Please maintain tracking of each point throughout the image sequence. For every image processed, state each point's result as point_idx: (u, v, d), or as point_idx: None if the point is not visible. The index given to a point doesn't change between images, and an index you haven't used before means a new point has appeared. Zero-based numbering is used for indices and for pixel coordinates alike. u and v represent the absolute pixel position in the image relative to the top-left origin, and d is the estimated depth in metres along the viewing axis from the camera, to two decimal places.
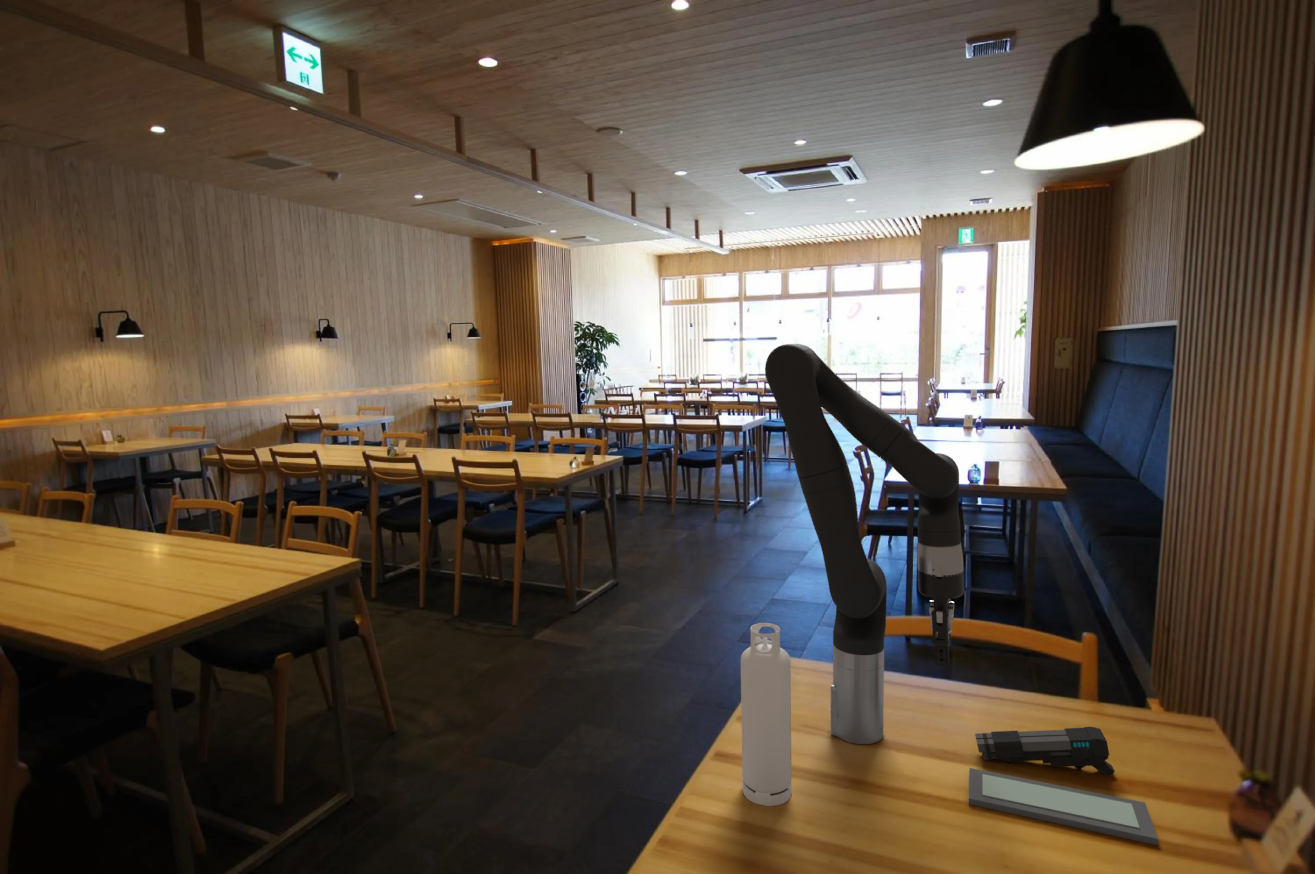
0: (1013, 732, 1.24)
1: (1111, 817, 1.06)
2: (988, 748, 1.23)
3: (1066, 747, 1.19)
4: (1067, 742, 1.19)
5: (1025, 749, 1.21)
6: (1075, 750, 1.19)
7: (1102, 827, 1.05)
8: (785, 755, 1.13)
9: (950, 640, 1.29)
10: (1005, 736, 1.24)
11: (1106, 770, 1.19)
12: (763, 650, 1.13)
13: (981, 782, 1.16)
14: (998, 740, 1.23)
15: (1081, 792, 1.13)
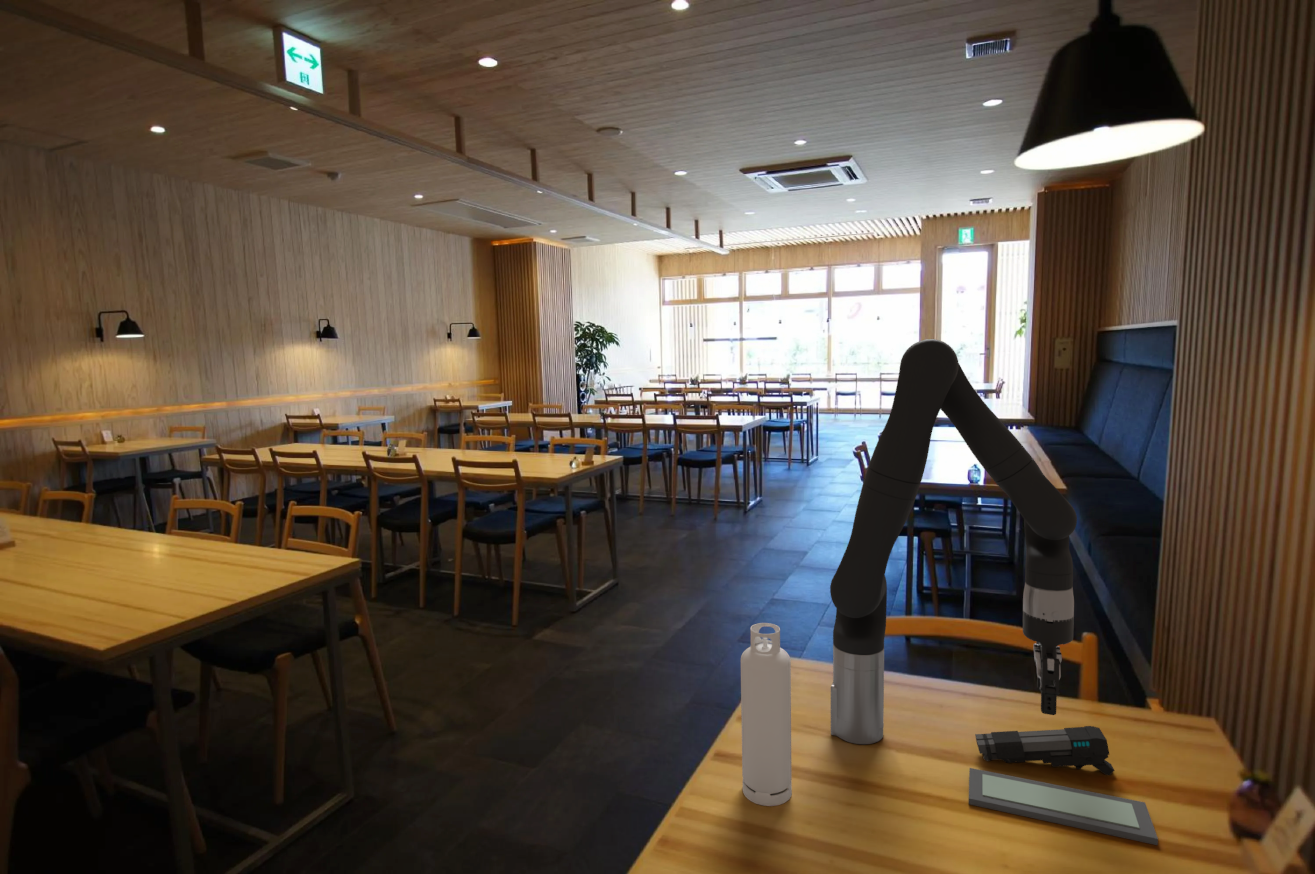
0: (1013, 732, 1.24)
1: (1111, 817, 1.06)
2: (989, 749, 1.23)
3: (1066, 747, 1.19)
4: (1067, 742, 1.19)
5: (1026, 749, 1.21)
6: (1075, 750, 1.19)
7: (1102, 827, 1.05)
8: (785, 755, 1.13)
9: (1051, 685, 1.24)
10: (1005, 736, 1.24)
11: (1106, 769, 1.19)
12: (763, 650, 1.13)
13: (981, 782, 1.16)
14: (998, 741, 1.23)
15: (1081, 792, 1.13)
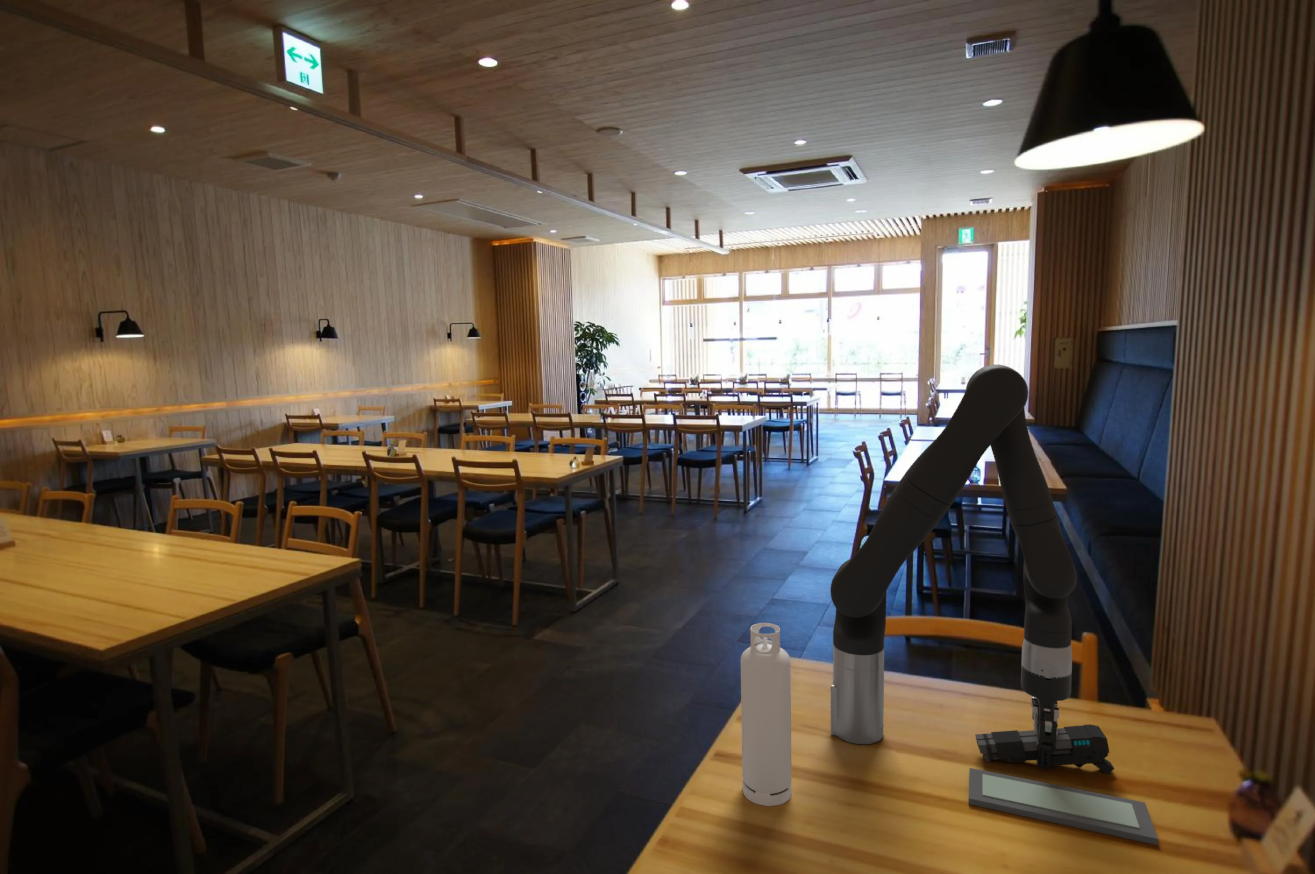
0: (1013, 732, 1.24)
1: (1111, 817, 1.06)
2: (990, 749, 1.22)
3: (1067, 746, 1.19)
4: (1068, 741, 1.19)
5: (1026, 749, 1.21)
6: (1076, 748, 1.19)
7: (1102, 827, 1.05)
8: (785, 755, 1.13)
9: None
10: (1006, 736, 1.23)
11: (1106, 767, 1.19)
12: (763, 650, 1.13)
13: (981, 782, 1.16)
14: (999, 741, 1.23)
15: (1081, 792, 1.13)
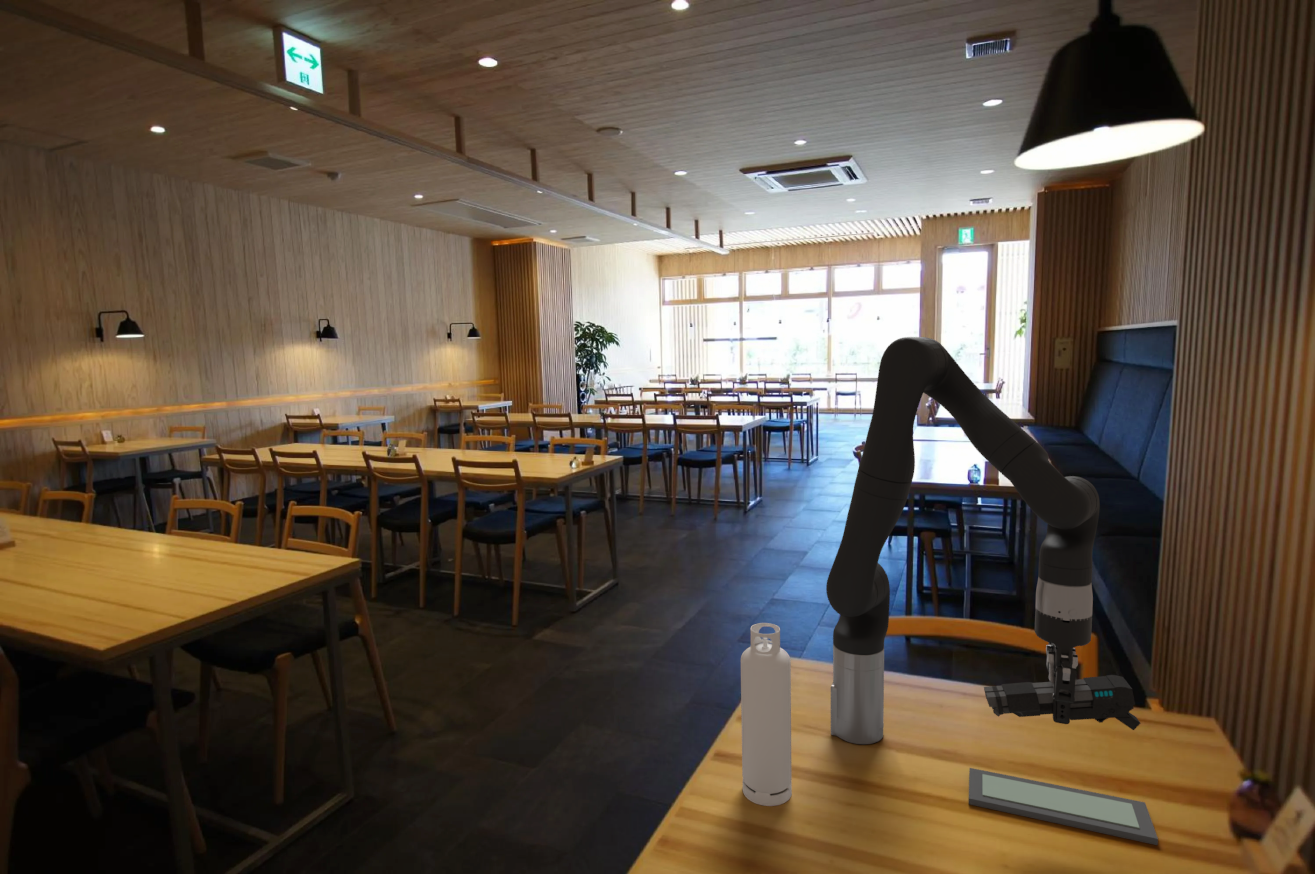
0: (1026, 684, 1.12)
1: (1111, 817, 1.06)
2: (1000, 701, 1.10)
3: (1087, 697, 1.07)
4: (1088, 692, 1.06)
5: (1041, 701, 1.08)
6: (1097, 700, 1.06)
7: (1102, 827, 1.05)
8: (785, 755, 1.13)
9: None
10: (1018, 688, 1.11)
11: (1131, 722, 1.06)
12: (763, 650, 1.13)
13: (981, 782, 1.16)
14: (1010, 692, 1.10)
15: (1081, 792, 1.13)
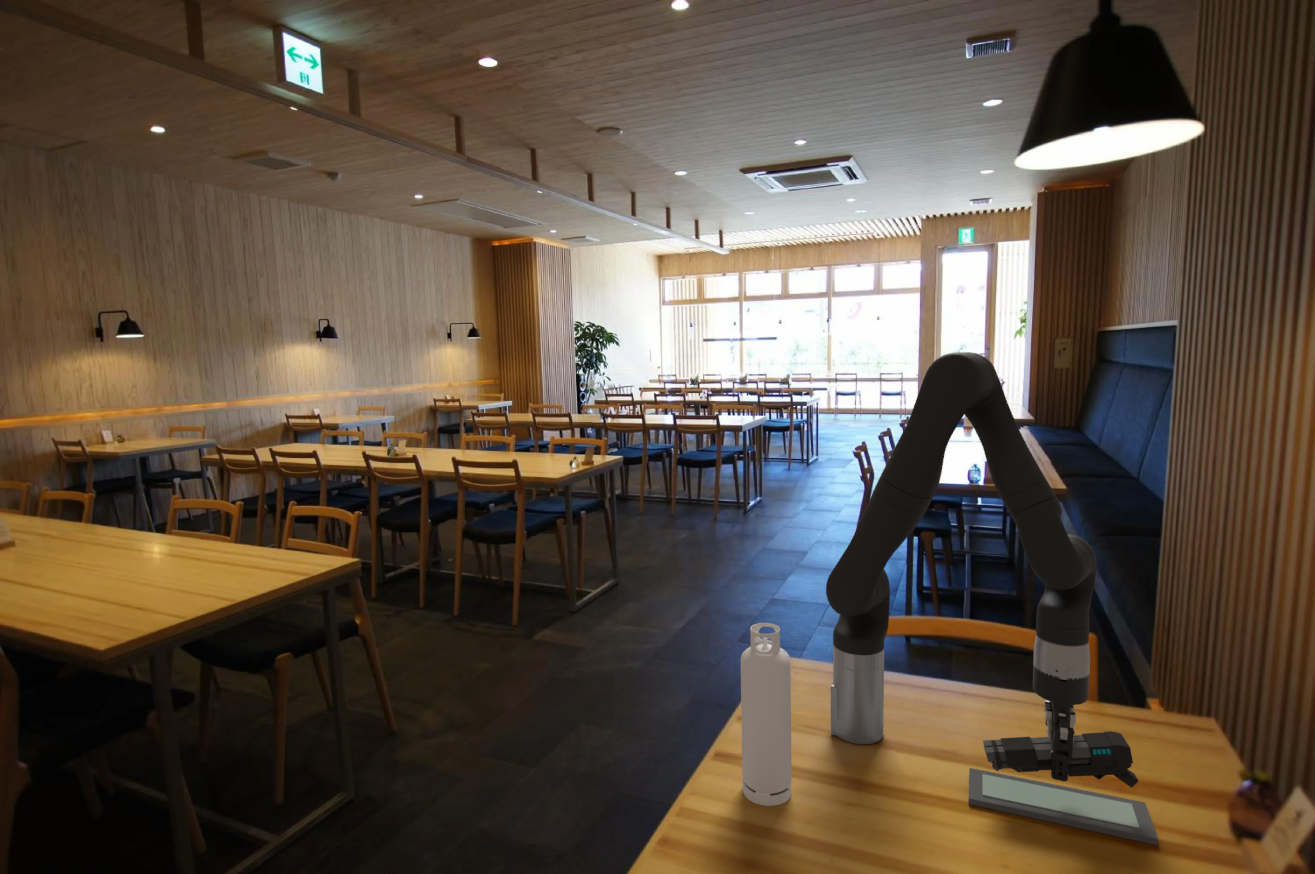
0: (1025, 738, 1.12)
1: (1111, 817, 1.06)
2: (998, 757, 1.11)
3: (1085, 755, 1.07)
4: (1086, 749, 1.07)
5: (1039, 757, 1.09)
6: (1095, 758, 1.07)
7: (1102, 827, 1.05)
8: (785, 755, 1.13)
9: None
10: (1017, 743, 1.12)
11: (1129, 779, 1.07)
12: (763, 650, 1.13)
13: (981, 782, 1.16)
14: (1009, 748, 1.11)
15: (1081, 792, 1.13)
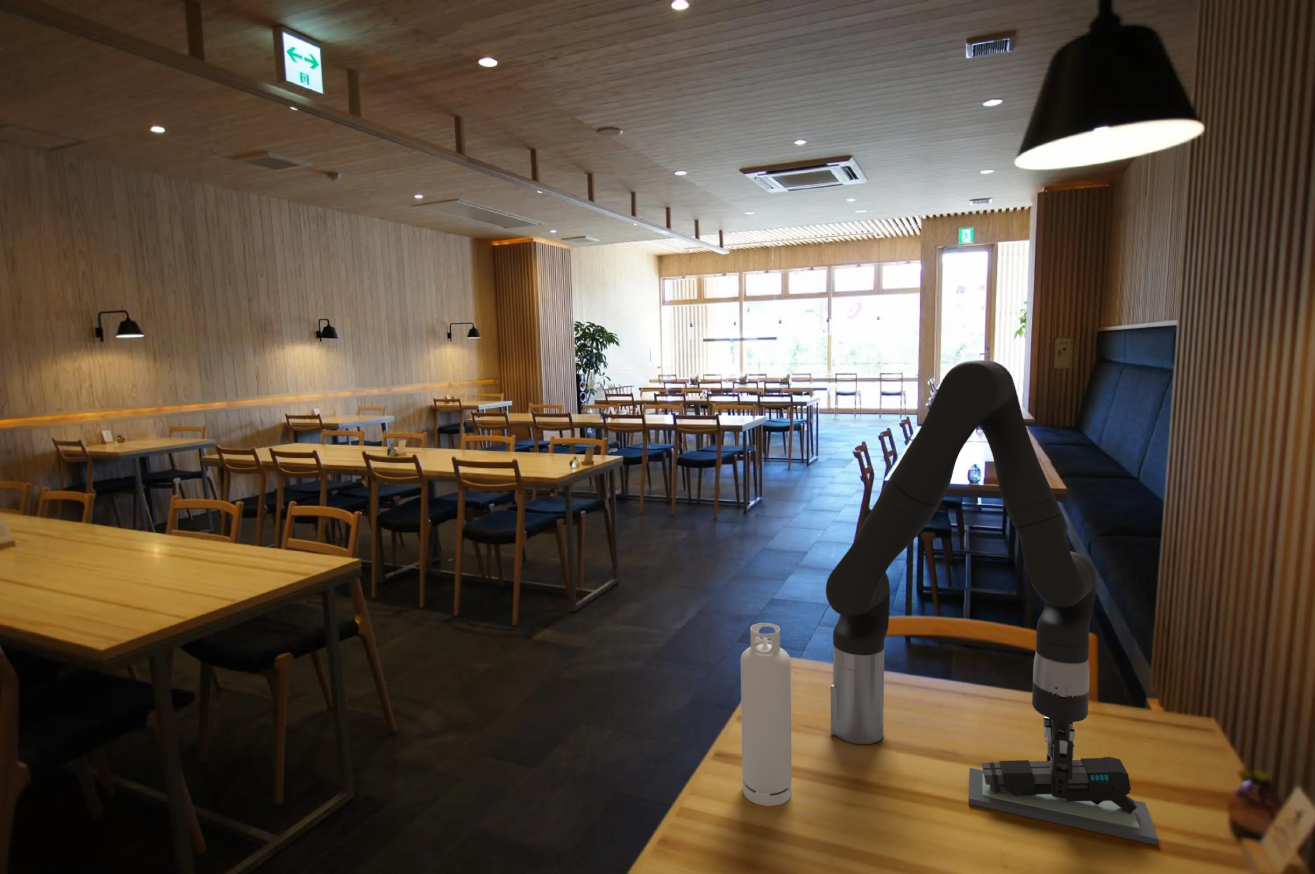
0: (1023, 762, 1.13)
1: (1111, 817, 1.06)
2: (996, 780, 1.12)
3: (1083, 780, 1.08)
4: (1084, 774, 1.08)
5: (1037, 781, 1.10)
6: (1093, 783, 1.07)
7: (1102, 827, 1.05)
8: (785, 755, 1.13)
9: None
10: (1015, 766, 1.12)
11: (1127, 806, 1.07)
12: (763, 650, 1.13)
13: (981, 782, 1.16)
14: (1006, 771, 1.12)
15: None
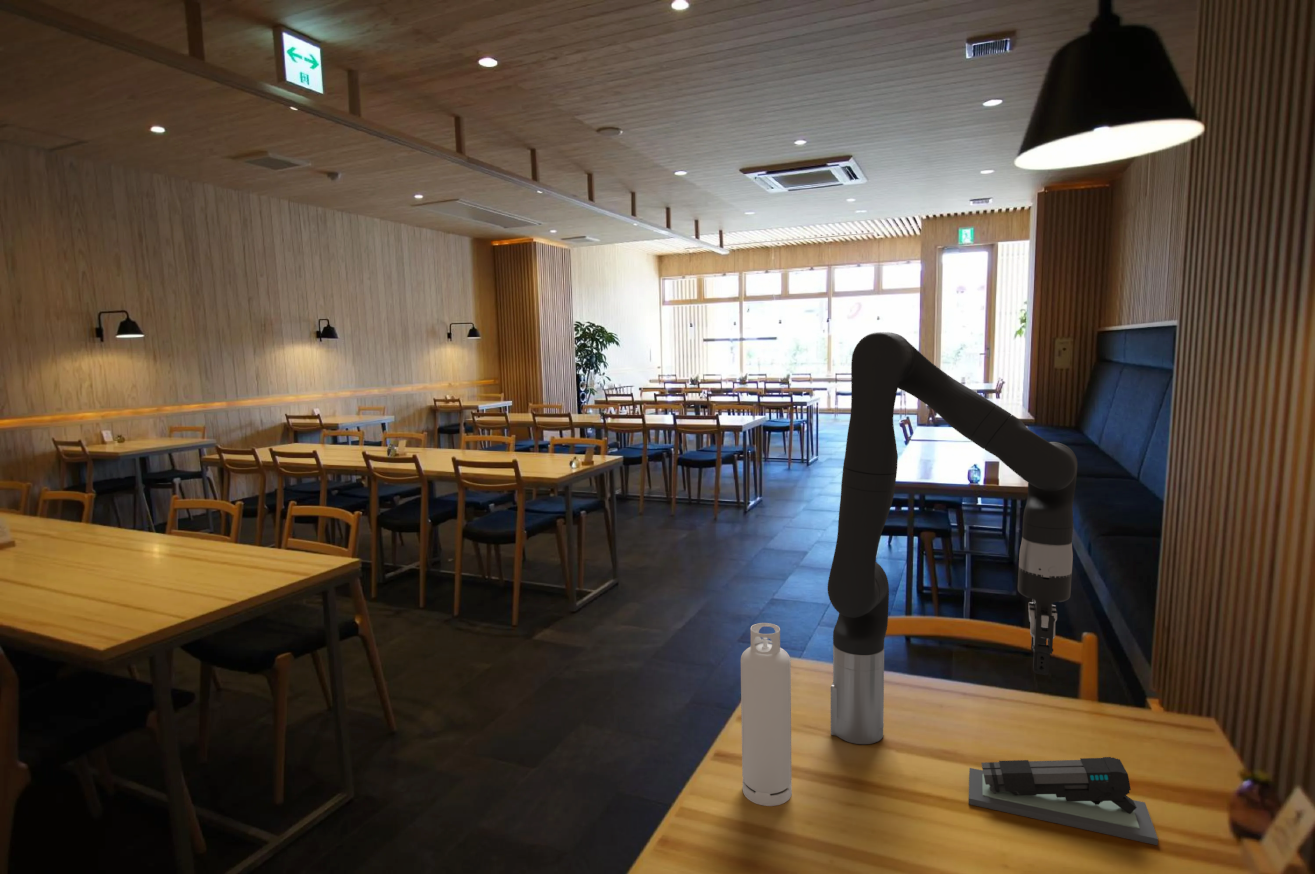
0: (1023, 762, 1.13)
1: (1111, 817, 1.06)
2: (996, 780, 1.12)
3: (1082, 780, 1.08)
4: (1083, 774, 1.08)
5: (1037, 781, 1.10)
6: (1092, 783, 1.07)
7: (1102, 827, 1.05)
8: (785, 755, 1.13)
9: None
10: (1014, 766, 1.12)
11: (1127, 806, 1.07)
12: (763, 650, 1.13)
13: (981, 782, 1.16)
14: (1006, 771, 1.12)
15: None
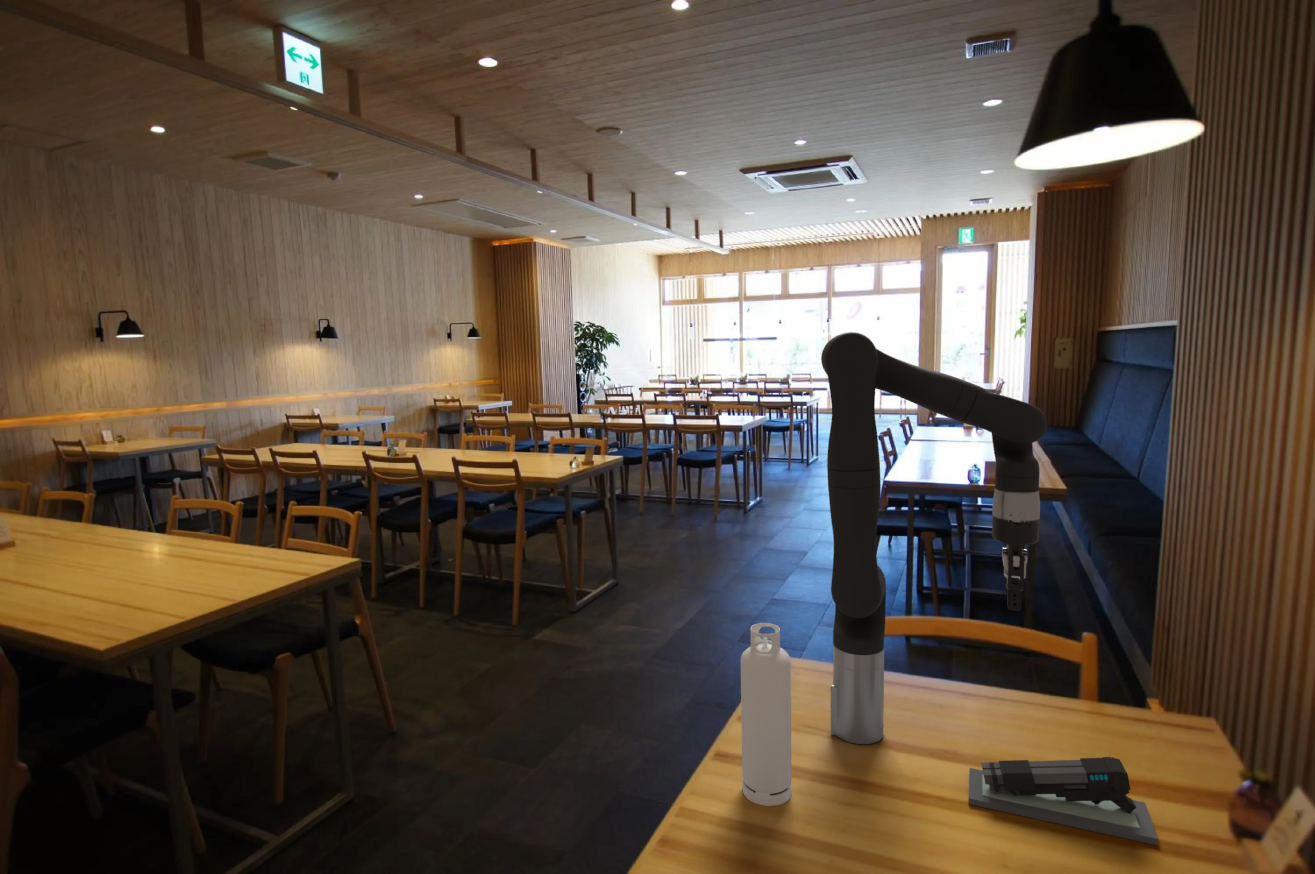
0: (1023, 762, 1.13)
1: (1111, 817, 1.06)
2: (995, 780, 1.12)
3: (1082, 780, 1.08)
4: (1083, 774, 1.08)
5: (1036, 781, 1.10)
6: (1092, 783, 1.07)
7: (1102, 827, 1.05)
8: (785, 755, 1.13)
9: None
10: (1014, 766, 1.12)
11: (1127, 806, 1.07)
12: (763, 650, 1.13)
13: (981, 782, 1.16)
14: (1006, 771, 1.12)
15: None
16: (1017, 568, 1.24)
